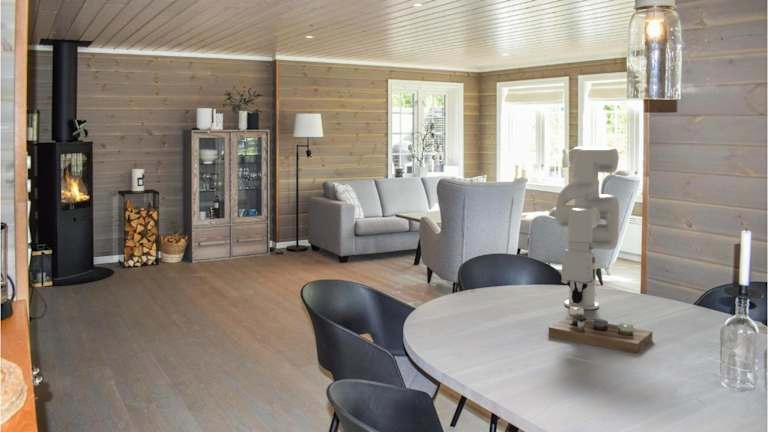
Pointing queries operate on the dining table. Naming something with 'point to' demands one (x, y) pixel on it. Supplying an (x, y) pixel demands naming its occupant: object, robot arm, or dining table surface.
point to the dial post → (581, 322)
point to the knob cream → (574, 312)
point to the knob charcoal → (600, 324)
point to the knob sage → (625, 329)
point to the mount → (601, 336)
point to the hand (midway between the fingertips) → (576, 302)
